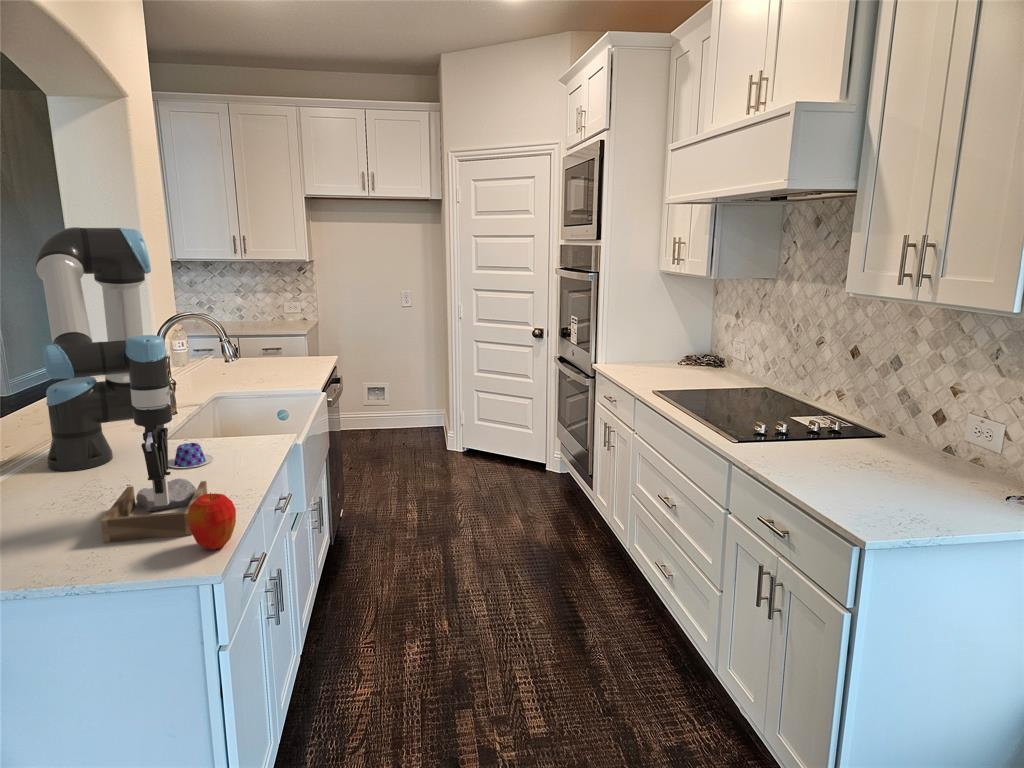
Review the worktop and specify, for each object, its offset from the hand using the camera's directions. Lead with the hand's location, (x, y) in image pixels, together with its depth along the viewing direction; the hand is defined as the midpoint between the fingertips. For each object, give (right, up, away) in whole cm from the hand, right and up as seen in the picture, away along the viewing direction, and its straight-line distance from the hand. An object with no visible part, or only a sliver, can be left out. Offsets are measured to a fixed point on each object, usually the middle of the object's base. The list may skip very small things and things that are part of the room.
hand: (162, 504), depth 150 cm
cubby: (+1, -3, -3) cm, 5 cm away
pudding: (-10, +5, +34) cm, 36 cm away
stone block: (-2, -1, +7) cm, 7 cm away
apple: (+19, -6, -15) cm, 25 cm away
